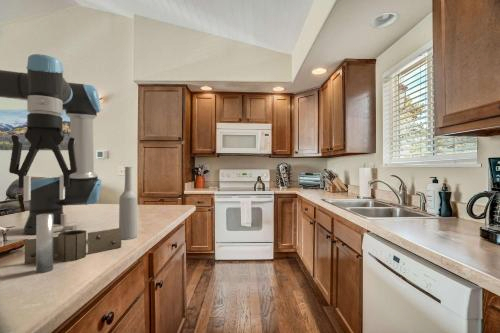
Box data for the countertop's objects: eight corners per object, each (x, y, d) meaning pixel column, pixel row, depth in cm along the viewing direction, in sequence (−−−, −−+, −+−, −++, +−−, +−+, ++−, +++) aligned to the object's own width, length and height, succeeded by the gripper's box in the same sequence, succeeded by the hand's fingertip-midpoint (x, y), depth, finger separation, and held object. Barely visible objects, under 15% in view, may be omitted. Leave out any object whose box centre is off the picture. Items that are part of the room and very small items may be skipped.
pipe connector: (62, 245, 93) (62, 217, 93) (39, 243, 95) (39, 216, 95) (85, 238, 103) (85, 212, 103) (64, 236, 105) (64, 211, 105)
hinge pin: (38, 269, 72) (38, 214, 72) (54, 266, 73) (54, 213, 73) (34, 273, 68) (34, 216, 68) (51, 271, 70) (51, 215, 70)
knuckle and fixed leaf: (28, 259, 79) (29, 234, 79) (87, 252, 86) (87, 229, 86) (20, 267, 73) (20, 240, 73) (84, 259, 79) (84, 234, 79)
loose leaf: (88, 253, 84) (88, 233, 84) (87, 253, 84) (87, 232, 84) (121, 247, 91) (121, 228, 91) (120, 246, 91) (120, 227, 91)
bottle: (128, 234, 108) (128, 166, 109) (140, 236, 106) (141, 166, 106) (115, 238, 102) (115, 166, 102) (128, 240, 100) (128, 166, 100)
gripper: (-10, 108, 63) (-11, 203, 63) (86, 115, 72) (86, 199, 72) (2, 114, 70) (2, 200, 70) (89, 120, 79) (89, 196, 79)
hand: (45, 199), depth 71 cm, fingers open, 7 cm apart
